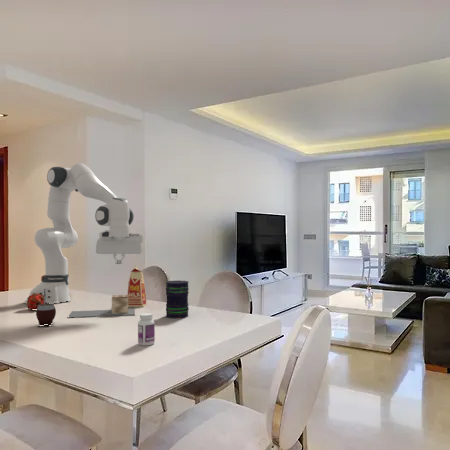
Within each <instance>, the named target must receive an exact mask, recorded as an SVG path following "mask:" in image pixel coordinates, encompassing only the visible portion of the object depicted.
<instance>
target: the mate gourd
mask: <svg viewBox="0 0 450 450" xmlns="http://www.w3.org/2000/svg"><path fill="white" fill-rule="evenodd" d="M45 297H46V289H44V304H43V305H39V306H38V308H37V311H35V315H36V318H37V321H38V322H37V323H38V326H39V325H44V324H48V325H51V323H53V324H54V319H55V317H56V315H57V311H56V307H55V304H45Z"/></svg>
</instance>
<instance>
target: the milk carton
mask: <svg viewBox="0 0 450 450" xmlns="http://www.w3.org/2000/svg"><path fill="white" fill-rule="evenodd" d="M127 286H128V287H127V295H128V308H144V307H146V306H147V305H148V303H147V294H146V293H147V291H146V286H145V278H144V273H143V272H142V271H141V270H139V268H138V267H137V266H136V265H134V268H133V269H132V270H131V271H130V274H129V278H128V284H127Z"/></svg>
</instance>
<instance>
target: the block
mask: <svg viewBox="0 0 450 450" xmlns="http://www.w3.org/2000/svg"><path fill="white" fill-rule="evenodd" d="M128 309H129V307H128V294H115V295H112V296H111V310H112V314H121V313H128Z"/></svg>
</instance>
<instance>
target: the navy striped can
mask: <svg viewBox="0 0 450 450" xmlns="http://www.w3.org/2000/svg"><path fill="white" fill-rule="evenodd" d="M165 284H166V286H165V294H166V303H165V313H166V315H165V317H166V318H168V319H185V318H188V317H189V310H190V309H189V293H190V292H189V290H190V288H189V281H188V280H168V281H165Z"/></svg>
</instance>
